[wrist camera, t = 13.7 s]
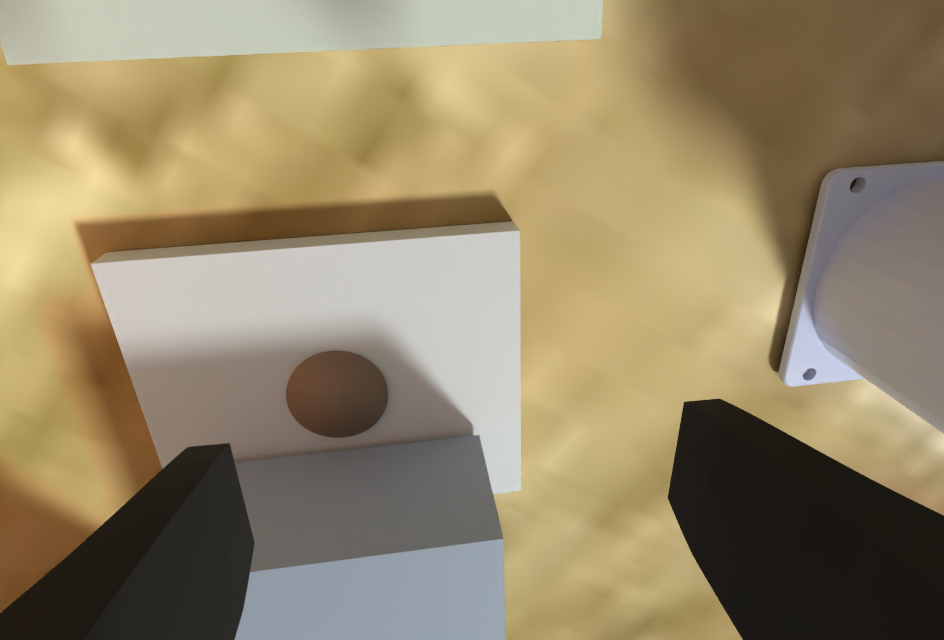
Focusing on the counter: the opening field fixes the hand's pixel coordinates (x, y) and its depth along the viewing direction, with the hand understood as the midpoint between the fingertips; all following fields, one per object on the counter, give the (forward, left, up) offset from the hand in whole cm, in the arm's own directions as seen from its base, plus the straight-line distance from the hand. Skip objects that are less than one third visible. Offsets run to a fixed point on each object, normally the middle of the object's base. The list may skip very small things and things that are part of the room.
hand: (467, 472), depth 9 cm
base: (+3, +4, -10) cm, 11 cm away
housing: (+3, +10, -8) cm, 14 cm away
